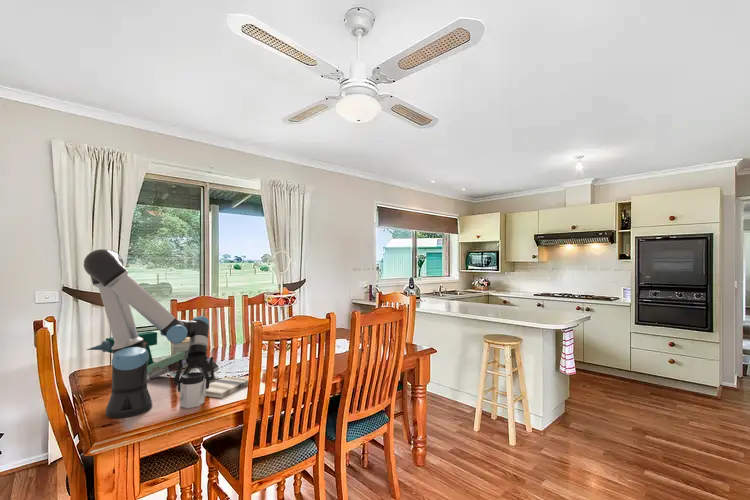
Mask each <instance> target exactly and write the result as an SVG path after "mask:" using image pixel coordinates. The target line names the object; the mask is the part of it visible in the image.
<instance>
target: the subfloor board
mask: <svg viewBox="0 0 750 500" xmlns="http://www.w3.org/2000/svg"><path fill="white" fill-rule="evenodd" d="M248 379H249V378H245V377H237V376H236V377H235V376H228V375H227V376H225V377H222V378H219V379H217V380H214V381H212V382H210V383H209V389H206V397H211V398H218V399H222V398H224V397H226V396H229V395H230V394H232V393H234V392H236V391H238V390H240V389H243V388H244V387H247V386H248Z"/></svg>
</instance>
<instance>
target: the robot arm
mask: <svg viewBox="0 0 750 500" xmlns="http://www.w3.org/2000/svg"><path fill="white" fill-rule="evenodd" d="M83 268H84V271H85V272H86V273H87V275H88V276H90V279H91V280H90V281H91V283H92V286H94V287H96V288H98V290H99V294H100V297H101V300H102V304H103V307H104V311H105V315H106V317H107V319H106V320H107V321H108V325H109V329H110V332H111V335H112V337H113V339H114V345H113V347H112V348H111V349H112V352H113V353H112V359H111V365H112V367H111V371H112V373H111V394H110V397H109V400H108V403H107V406H106V408H105V416H106V417H108V418H110V419H121V418H123V419H124V418H130V417H134V416H137V415H140V414H143V413H145V412H147V411H149V410H151V409H152V407H153V401H152V397H151V395H150V392H149V389H148V373H147V365H148V360H149V352H148V350H147V349H146V346H145V343H144V339H143V338H142V337H139V336H138V334H137V333H138V330H137V327H136V324H135V319H134V316H133V313H132V309H131V307H132V308H133V309H134V310H135V311H136V312H137V313H139V314H140V315H141V316H143V317H144V318H145V320H147V321H148V322H149V323H150V324H151V325H152V326H153V327H154V328H156V329H157V330H158V331H159V332H160V336H163V337H166V338H167V339H166V340H168V341H169V342H170V343H172V344H173V343H181V342H182V341H184V340H185V339H186V337H190V341H189V349H188V357H187V358H186V360H179V366H178V368H177V369H176V373H175V375H174V379H173V383H174V385H177V391H178V393H179V401H180V400H182V393H183V390H182V388H181V389H180V383H182V376H183V375H184V374H187V373H191V371H192V370H193V369H198V368H201V370H202V372H203V374H204V376H205V379H204V388H203V398H204V399H205V398H206V397H207V396H206V389H209V384H210V383H211V381H215V373H214V371H213V362H215V358H214V357H213V356H211V357H209V358H207V357H208V342H209V333H210V331H209V330H210V320H209V319H208V317H206V316H203V315H200V316H195V317H193V318H192V320H185V319H178V318H176V317H175V316H174V315H173V314H172V313H171V312H170V311H169V310H167V309H166V308H165V307H164V306H163V305H162V304H161V303H160V302H159V301H158V300H156V299H155V298H154V297H153V296H152V295H151V294H150V293H149V292H147V290H146V289H144V287H142V286H141V284H139V283H138V282H137V281H136V280H135V279H134V278H132V276H130V275H129V270H128V269H127V268H126V267H125V266H124V260H123V258H122V256H121V255H120V254H119V252H118V253H117V252H116V251H114V250H112V249H102V248H101V249H95V250H92V251H90V253H88V254H87V255H86V256H85V258H84V260H83ZM206 361H208V363H209V364H210V372H211V376H208V373H207V371H206V369H205V367H204V364H205V363H206ZM185 363H187V364H188V366H187V368H185V370H184V372H183V373H182V370H183V369H184V368H183V366H184V365H185ZM181 374H182V375H181Z"/></svg>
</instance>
